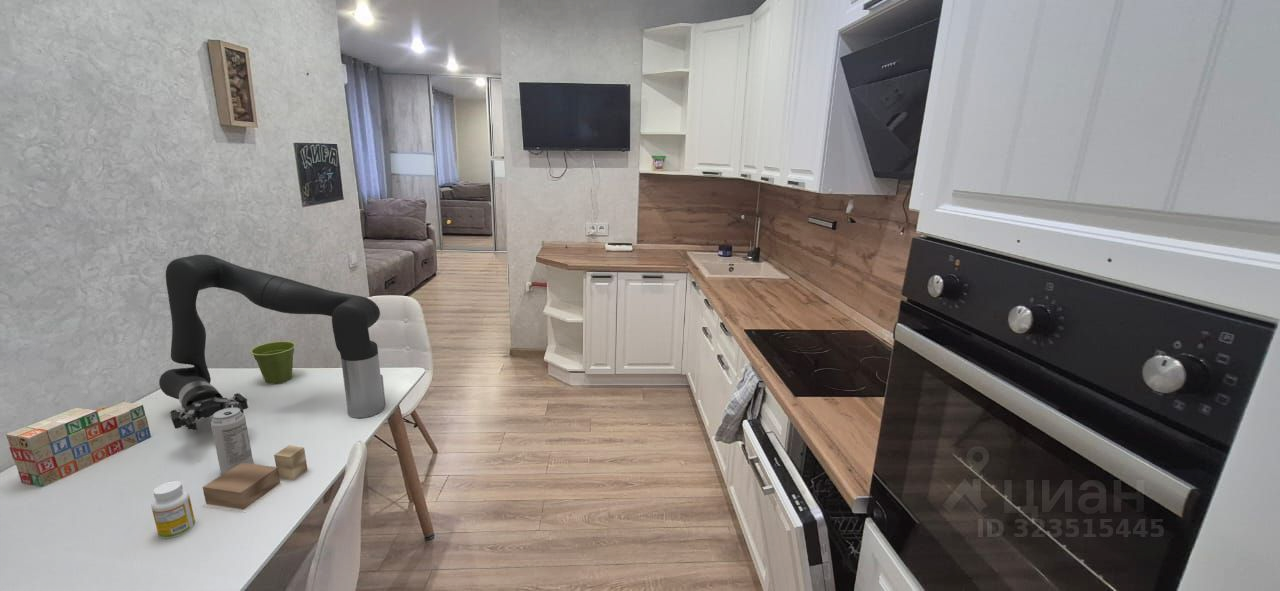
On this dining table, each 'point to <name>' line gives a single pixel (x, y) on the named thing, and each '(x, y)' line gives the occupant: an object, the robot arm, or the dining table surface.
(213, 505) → the blueprint board
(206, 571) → the dining table surface
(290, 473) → the oak post
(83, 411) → the stack of blocks
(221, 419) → the energy drink can
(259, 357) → the plant pot
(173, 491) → the supplement bottle
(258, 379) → the dining table surface
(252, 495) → the base block
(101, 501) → the dining table surface
